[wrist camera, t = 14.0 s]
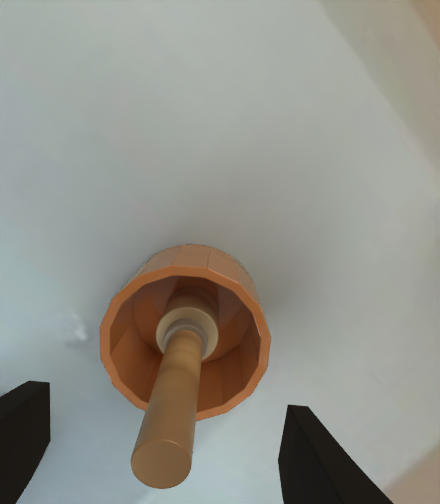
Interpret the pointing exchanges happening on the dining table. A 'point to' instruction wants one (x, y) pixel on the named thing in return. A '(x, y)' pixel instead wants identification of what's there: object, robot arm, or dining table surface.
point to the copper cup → (150, 311)
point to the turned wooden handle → (176, 388)
